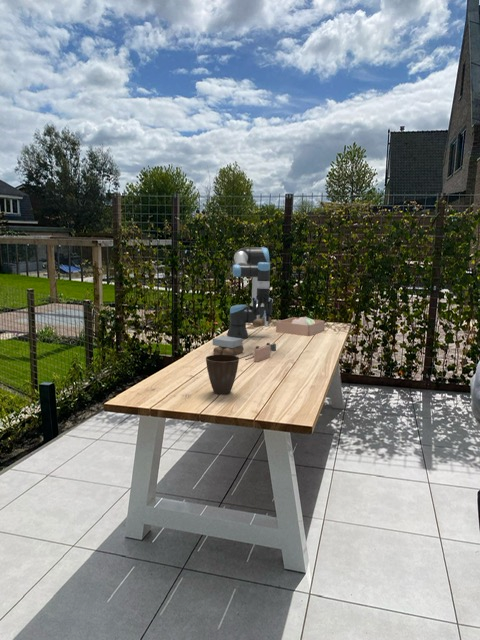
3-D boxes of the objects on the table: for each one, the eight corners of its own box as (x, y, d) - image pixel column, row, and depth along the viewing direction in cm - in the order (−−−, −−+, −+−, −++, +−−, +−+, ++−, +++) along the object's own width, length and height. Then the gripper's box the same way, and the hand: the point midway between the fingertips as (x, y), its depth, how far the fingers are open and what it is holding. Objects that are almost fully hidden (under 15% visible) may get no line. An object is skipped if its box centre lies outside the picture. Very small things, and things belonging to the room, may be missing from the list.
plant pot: (198, 391, 223) (199, 357, 220) (222, 385, 233) (223, 352, 231) (220, 399, 212) (221, 363, 210) (245, 392, 223) (246, 358, 220)
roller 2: (236, 351, 307) (236, 343, 306) (243, 353, 304) (243, 345, 304) (222, 356, 294) (222, 347, 293) (229, 358, 291) (229, 349, 290)
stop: (267, 356, 296) (267, 345, 295) (270, 356, 295) (270, 345, 294) (254, 361, 282) (254, 349, 281) (257, 362, 281) (257, 350, 280)
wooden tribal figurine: (285, 322, 394) (314, 314, 389) (289, 340, 392) (319, 332, 386) (282, 321, 381) (311, 312, 375) (286, 339, 378) (316, 330, 372)
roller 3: (264, 323, 308) (264, 316, 307) (271, 324, 306) (271, 317, 305) (252, 327, 294) (252, 319, 294) (259, 327, 292) (259, 319, 291)
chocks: (227, 350, 310) (227, 349, 310) (259, 355, 299) (259, 354, 299) (213, 354, 297) (213, 354, 297) (245, 360, 285) (246, 359, 285)
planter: (292, 326, 405) (293, 317, 403) (324, 330, 391) (324, 320, 389) (276, 332, 379) (276, 321, 378) (308, 336, 365) (309, 325, 364)
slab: (223, 342, 309) (223, 335, 308) (242, 344, 302) (242, 338, 301) (212, 345, 299) (212, 338, 298) (231, 348, 292) (232, 341, 291)
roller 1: (227, 350, 310) (227, 342, 310) (234, 351, 308) (234, 343, 307) (213, 354, 297) (213, 346, 296) (220, 356, 294) (220, 348, 293)
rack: (267, 349, 316) (267, 342, 315) (275, 350, 313) (276, 343, 312) (255, 353, 302) (255, 346, 302) (263, 355, 299) (264, 347, 299)
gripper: (247, 287, 298) (246, 325, 301) (273, 289, 289) (272, 328, 292) (253, 286, 304) (252, 323, 308) (279, 288, 296) (277, 326, 299)
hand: (262, 325), depth 300 cm, fingers closed on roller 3, 5 cm apart
